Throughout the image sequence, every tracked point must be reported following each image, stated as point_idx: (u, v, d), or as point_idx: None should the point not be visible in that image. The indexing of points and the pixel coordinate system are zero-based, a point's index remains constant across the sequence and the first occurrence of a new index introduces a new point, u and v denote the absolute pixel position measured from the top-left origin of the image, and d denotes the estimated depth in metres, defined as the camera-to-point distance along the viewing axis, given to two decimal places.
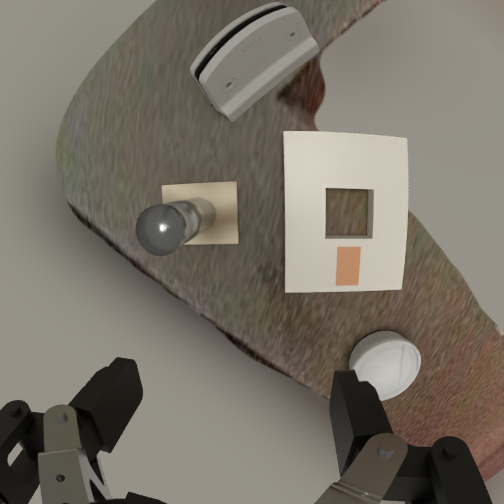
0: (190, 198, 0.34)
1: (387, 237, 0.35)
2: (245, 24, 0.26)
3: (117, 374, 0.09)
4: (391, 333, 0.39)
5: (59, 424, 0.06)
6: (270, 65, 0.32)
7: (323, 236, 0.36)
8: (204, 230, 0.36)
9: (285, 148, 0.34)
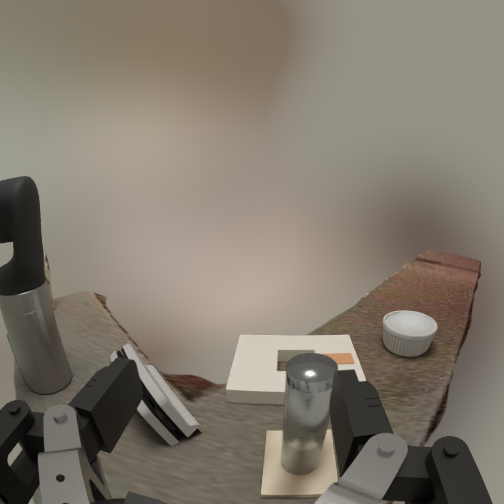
0: None
1: (312, 343, 0.49)
2: None
3: (117, 374, 0.09)
4: (383, 336, 0.51)
5: (59, 424, 0.06)
6: (161, 388, 0.38)
7: None
8: None
9: (241, 389, 0.38)
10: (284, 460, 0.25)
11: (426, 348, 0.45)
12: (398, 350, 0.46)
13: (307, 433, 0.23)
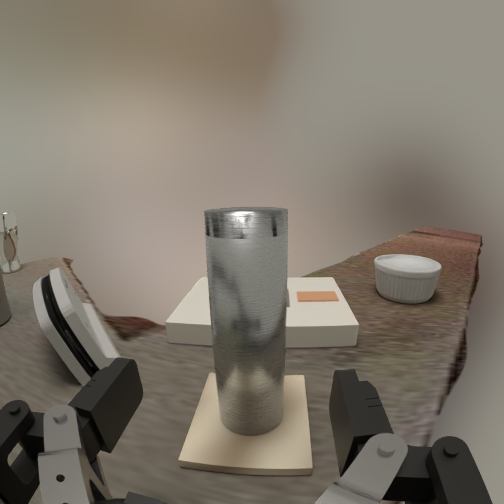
0: None
1: None
2: (45, 280, 0.26)
3: (117, 374, 0.09)
4: (376, 280, 0.43)
5: (59, 424, 0.06)
6: (89, 321, 0.30)
7: (287, 307, 0.33)
8: None
9: (184, 322, 0.30)
10: (221, 406, 0.17)
11: (430, 292, 0.38)
12: (395, 294, 0.39)
13: (245, 337, 0.15)
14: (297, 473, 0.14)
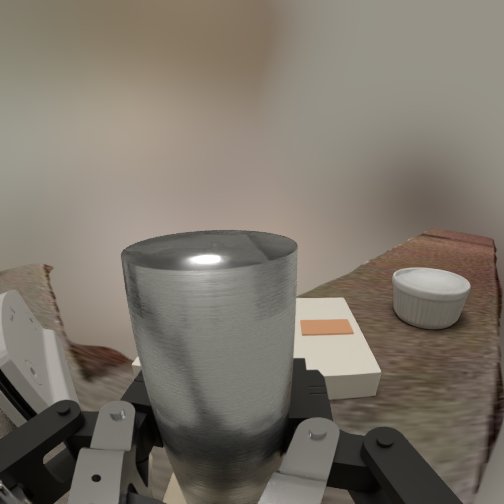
0: None
1: None
2: None
3: None
4: (394, 300, 0.35)
5: (118, 421, 0.07)
6: (45, 357, 0.21)
7: None
8: None
9: None
10: None
11: (457, 316, 0.30)
12: (418, 318, 0.31)
13: (212, 474, 0.07)
14: None
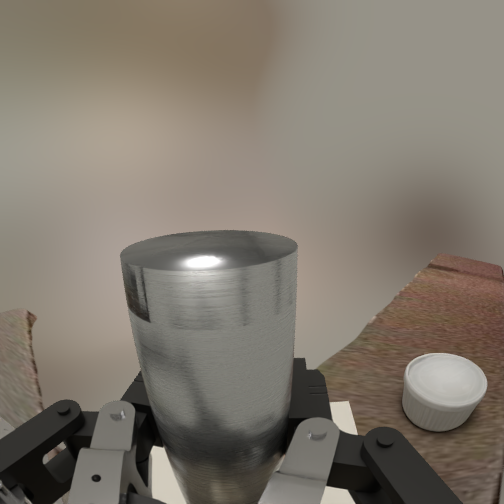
0: None
1: None
2: None
3: None
4: (404, 399, 0.28)
5: (118, 421, 0.07)
6: None
7: None
8: None
9: None
10: None
11: (468, 416, 0.23)
12: (427, 424, 0.24)
13: (212, 475, 0.07)
14: None
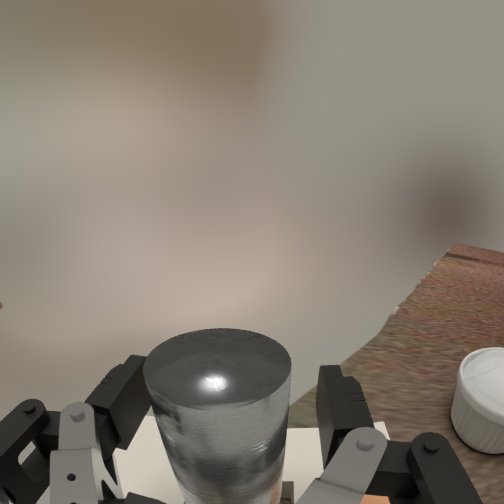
0: None
1: (290, 457, 0.16)
2: None
3: (133, 371, 0.10)
4: (456, 413, 0.17)
5: (77, 422, 0.07)
6: None
7: None
8: None
9: None
10: None
11: None
12: (489, 446, 0.13)
13: None
14: None
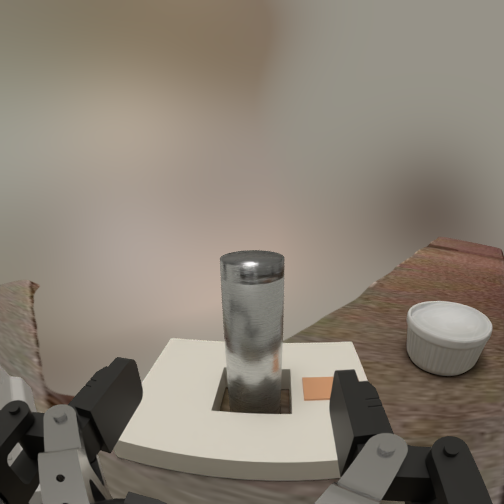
0: None
1: (288, 357, 0.28)
2: None
3: (117, 374, 0.09)
4: (408, 342, 0.30)
5: (59, 424, 0.06)
6: None
7: (288, 416, 0.20)
8: None
9: (133, 442, 0.16)
10: (231, 404, 0.22)
11: (476, 360, 0.24)
12: (435, 366, 0.25)
13: (251, 354, 0.20)
14: None
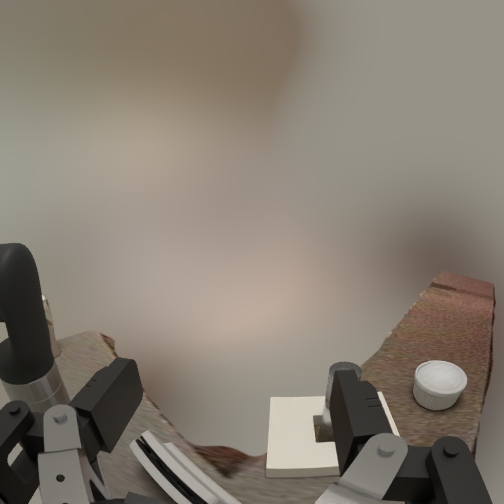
0: (321, 423, 0.38)
1: None
2: (155, 462, 0.27)
3: (117, 374, 0.09)
4: (414, 390, 0.45)
5: (59, 424, 0.06)
6: (192, 472, 0.31)
7: None
8: None
9: (282, 467, 0.32)
10: (322, 437, 0.38)
11: (455, 401, 0.39)
12: (429, 405, 0.40)
13: None
14: None
